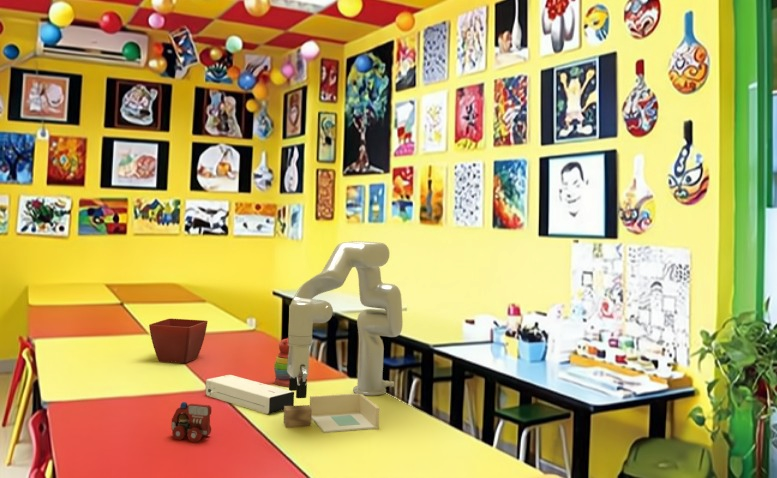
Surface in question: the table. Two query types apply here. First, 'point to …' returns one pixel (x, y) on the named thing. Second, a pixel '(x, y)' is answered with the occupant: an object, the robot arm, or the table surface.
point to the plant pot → (178, 339)
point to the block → (297, 416)
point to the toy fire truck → (191, 421)
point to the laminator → (249, 394)
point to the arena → (344, 412)
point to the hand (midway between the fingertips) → (297, 394)
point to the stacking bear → (282, 364)
